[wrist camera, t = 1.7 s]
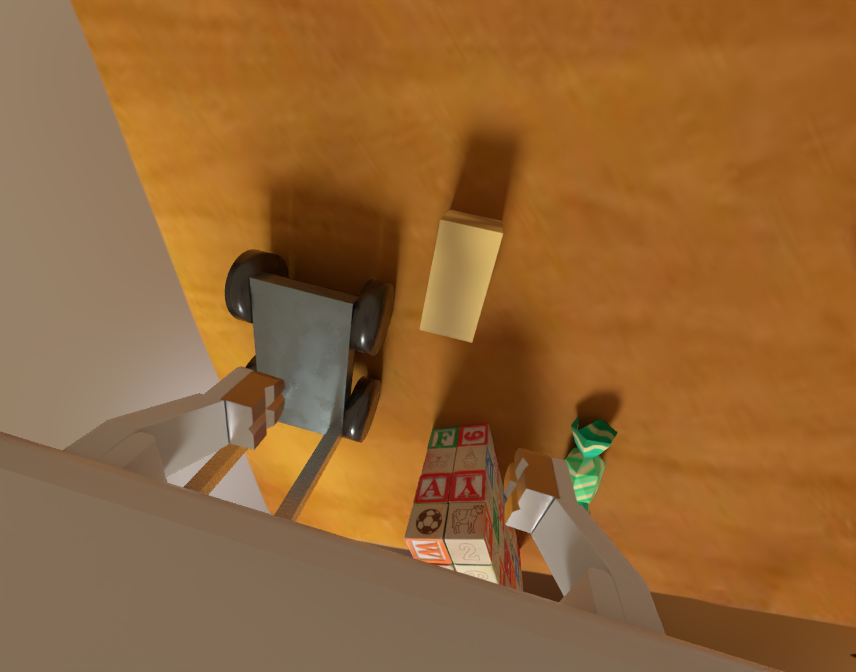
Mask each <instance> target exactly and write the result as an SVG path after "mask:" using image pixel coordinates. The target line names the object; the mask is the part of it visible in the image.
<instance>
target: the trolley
mask: <svg viewBox="0 0 856 672" xmlns="http://www.w3.org/2000/svg"><path fill="white" fill-rule="evenodd" d="M225 301H226V305H227V308H228V310H229V312H230V314H231V315H232V316H233V317H234V318H236V319H238V320H241V321H245V322H249V323H253V327H254V340H255V352H256V355H255V356H254V357H253V358H252V359H251V360H250V362H249V363H248V364H247V366H246V368H248V369H251V370H254V371H258V372H261V373H265V374H268V375H271V376H274V377H277V378H280V379H283V380H284V381H285V389H284V390H283V392H282V393H281V394H282V395H283V397H284V398H285V405H284V410H283V412H282V414H281V417H280V419H279V420H278V422H281V423H285V424H288V425H292V426H295V427H299V428H302V429H306V430H309V431H313V432H316V433H320V434H323V435H324V436H323V438H322V440H321V441H320V443H319V444H318V446H317V448H316V449H315V451H314V452H313V454H312V456H311V457H310V459H309V460H308V462H307V464H306V465H305V467H304V468H303V470H302V472H301V473H300V475H299V476H298V478H297V480H296V481H295V483H294V484H293V486H292V488H291V489H290V491H289V492H288V494H287V496H286V497H285V499H284V500H283V502H282V504H281V505H280V507H279V508H278V510H277V512H276V513H275V515H274V516H277V517H281V518H284V519H287V520H291V521H294V522H296V520H297V518H298V517H299V515H300V513H301V511H302V509H303V507H304V506H305V504H306V502H307V500H308V498H309V497H310V495H311V493H312V491H313V489H314V488H315V486H316V484H317V482H318V480H319V479H320V477H321V475H322V473H323V471H324V470H325V468H326V466H327V464H328V462H329V461H330V459H331V457H332V455H333V453H334V452H335V450H336V448H337V446H338V444H339V442H340V441H341V439H342V437H343V438H346V439H349V440H353V441H356V442H360V443H361V442H363V440H364V439H365V437H366V435H367V433H368V431H369V429H370V426H371V424H372V421H373V418H374V415H375V412H376V408H377V405H378V401H379V396H380V390H381V382H380V381H379V380H375V379H372V378H368V377H364V376H363V377H361V378H360V379H359V381H358V382H357V384H356V386H355V388H354V390H353V392H352V394H351V386H352V375H353V365H354V355H355V351H358V352H361V353H365V354H369V355H373V356H375V355H376V354H377V353H378V352H379V350H380V348H381V346H382V344H383V342H384V339H385V337H386V334H387V331H388V327H389V324H390V320H391V316H392V311H393V305H394V286H393V284H391V283H387V282H383V281H379V280H375V279H370V280H369V281H368V282H367V283H366V284H365V286H364V288H363V289H362V291H361V294H360V296H356V295H352V294H348V293H344V292H340V291H336V290H332V289H328V288H324V287H320V286H316V285H312V284H309V283H305V282H301V281H297V280H293V279H289V278H288V273H287V268H286V265H285V263H284V261H283V260H282V259H281V258H280V257H279V256H278V255H275V254H271V253H267V252H263V251H259V250H248V251H246V252H244V253H242V254H241V255H240V256H239V257H238V258H237V259H236V260H235V262H234V263H233V265H232V266H231V268H230V271H229V273H228V276H227V279H226V284H225ZM350 396H351V397H350ZM247 449H248V448H245V447H241V446H238V445H234V444H230V443H229V444H228V445H227V446H225V447H223V448H221V449H219V451H218V452H217V453H216V454H215V455H214V456H213V457H212V458H211V459H210V460H209V461H208V462H207V463H206V464H205V465H204V466H203V467H202V468H201V470H199V471H198V473H197V474H196V475H195V476H194V477H193V478H192V479H191V480H190V481H189V482H188V483H187V484H186V485H185V486H184V487H183V488H186V489H189V490H193V491H196V492H199V493H202V494H206V495H209V493H210V492H211V491H212V490H213V489H214V488H215V486H216V485H217V484H218V483H219V482H220V481H221V479H222V478H223V477H224V476H225V475H226V474H227V472H228V471H229V470H230V469H231V468H232V467H233V465H234V464H235V463H236V462H237V461H238V460H239V459H240V457H241V456H242V455H243V454H244V453H245V452H246V450H247Z"/></svg>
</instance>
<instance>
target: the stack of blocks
mask: <svg viewBox="0 0 856 672" xmlns="http://www.w3.org/2000/svg"><path fill="white" fill-rule="evenodd" d="M498 467H499V465H498V461H497V457H496V453H495V449H494V444H493V439H492V435H491V431H490V427H489V424H482V425H470V426H461V427H452V428H440V429H432V433H431V436H430V440H429V443H428V447H427V454H426V458H425V462H424V465H423V470H422V475H421V476H420V478H419V482H418V487H417V490H416V495H415V498H414V505H413V508H412V512H411V515H410V519H409V523H408V526H407V530H406V534H405V538H404V539H405V541H406V543H407V545H408V547H409V549H410V551H411V553H412V555H413V557H414V559H418V560H421V561H424V562H428V563H431V564H434V565H437V566H441V567H444V568H447V569H451V570H454V571H457V572H460V573H464V574H467V575H470V576H473V577H477V578H480V579H483V580H487V581H490V582H493V583H496V584H500V585H503V586H506V587H509V588H513V589H516V590H519V591H522V592H523V585H522V575H521V560H520V549H519V546H518V542H517V537H516V532H515V528H513V527H510V526H507V525H505V508H504V505H505V503H506V501H507V498H506V495H505V494H504V486H503V483H502V479H501V475H500V471H499V468H498Z"/></svg>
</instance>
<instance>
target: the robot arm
mask: <svg viewBox="0 0 856 672" xmlns="http://www.w3.org/2000/svg"><path fill="white" fill-rule="evenodd" d="M284 389H285V381H284V380H283V379H280V378H277V377H274V376H271V375H268V374H265V373H261V372H258V371H254V370H251V369H248V368H245V367H238V368H236V369H235V370H233V371H232V372H231V373H230V374H228V375H227V376H226V377H225V378H223V379H222V380H221V381H220V382H219V383H217V384H216V385H215V386H214V387H212V388H211V389H210V390H209V391H207V392H206V393H205V394H204V395H203V394H200V393H199V394H195V395H192V396H188V397H185V398H182V399H178V400H175V401H171V402H168V403H164V404H161V405H158V406H154V407H150V408H147V409H144V410H140V411H137V412H133V413H130V414H126V415H123V416H120V417H116V418H113V419H110V420H107V421H105V422H104V423H103V424H101V425H100V426H98V427H96V428H95V429H94V430H92V431H91V432H89V433H88V434H86V435H85V436H83V437H82V438H80V439H79V440H77V441H76V442H74V443H73V444H71V445H70V446H68V447H67V448H65V449H64V450H59V449H56V448H52V447H49V446H46V445H42V444H39V443H36V442H33V441H30V440H26V439H23V438H19V437H16V436H13V435H10V434H7V433H3V432H0V672H784V671H781V670H777V669H774V668H770V667H767V666H764V665H761V664H757V663H754V662H751V661H748V660H744V659H741V658H738V657H735V656H731V655H728V654H725V653H721V652H718V651H715V650H712V649H708V648H705V647H702V646H699V645H695V644H692V643H688V642H685V641H682V640H679V639H676V638H672V637H669V636H666V635H665V632H664V630H663V627H662V624H661V621H660V619H659V616H658V613H657V611H656V608H655V605H654V603H653V600H652V597H651V594H650V592H649V589H648V586H647V583H646V582H645V580H644V579H643V578H642V577H641V576H640V574H639V573H638V572H637V571H636V570H635V568H634V567H633V566H632V565H631V564H630V562H629V561H628V560H627V559H626V558H625V556H624V555H623V554H622V553H621V552H620V550H619V549H618V548H617V547H616V546H615V544H614V543H613V542H612V541H611V540H610V538H609V537H608V536H607V535H606V534H605V532H604V531H603V530H602V529H601V528H600V526H599V525H598V524H597V523H596V522H595V520H594V519H593V518H592V517H591V515H590V514H589V513H588V512H587V511H586V509H585V508H584V507H583V506H581V505H578V503H577V499H576V495H575V491H574V488H573V484H572V480H571V476H570V473H569V469H568V465H567V462H566V461H565V460H563V459H560V458H556V457H552V456H548V455H544V454H541V453H537V452H534V451H530V450H527V449H523V448H518V449H517V451H516V453H515V454H514V461H515V462H513V463H511V464H509V466H508V469H507V471H506V474H505V478H504V494H505V495H506V497H507V499H508V500H507V501H506V503H505V505H504V508H505V525H507V526H510V527H513V528H516V529H519V530H522V531H525V532H528V533H531V534H532V537H533V539H534V541H535V543H536V545H537V547H538V548H539V550H540V552H541V554H542V556H543V558H544V560H545V562H546V563H547V565H548V567H549V569H550V571H551V573H552V575H553V576H554V578H555V580H556V581H557V584H558V586H559V588H560V590H561V591H562V593H563V595H564V598H563V599H562V600H561V601H560V602H559V603H558V602H555V601H551V600H548V599H545V598H542V597H538V596H535V595H532V594H529V593H525V592H522V591H519V590H516V589H513V588H509V587H506V586H503V585H500V584H496V583H493V582H490V581H487V580H483V579H480V578H477V577H473V576H470V575H467V574H464V573H460V572H457V571H454V570H451V569H447V568H444V567H441V566H437V565H434V564H431V563H428V562H424V561H421V560H418V559H414V558H411V557H408V556H404V555H401V554H398V553H395V552H391V551H388V550H385V549H381V548H378V547H375V546H372V545H368V544H365V543H362V542H359V541H356V540H352V539H349V538H346V537H343V536H339V535H336V534H333V533H330V532H326V531H323V530H320V529H317V528H313V527H310V526H307V525H304V524H300V523H297V522H294V521H291V520H287V519H284V518H281V517H277V516H274V515H271V514H268V513H264V512H261V511H258V510H254V509H251V508H248V507H245V506H242V505H238V504H235V503H231V502H228V501H225V500H221V499H219V498H215V497H212V496H209V495H206V494H202V493H199V492H196V491H193V490H189V489H186V488H183V487H179V486H176V485H173V484H170V483H167V479H166V477H167V476H169V475H171V474H173V473H175V472H177V471H179V470H181V469H183V468H184V467H186V466H188V465H190V464H192V463H194V462H196V461H198V460H200V459H202V458H204V457H206V456H208V455H209V454H211V453H213V452H215V451H217V450H219V449H221V448H223V447H225V446H227V445H228V444H229V443H230V444H234V445H238V446H241V447H245V448H249V449H253V450H254V449H255V448H256V447H257V446H258V445H259V443H260V442H261V441H262V440H263V439H264V437H265V436H266V429H267V428H269V427H271V426H274V425H275V424H276V423H277V421H278V420H279V419H280V417H281V414H282V412H283V410H284V405H285V398H284V397H283V395H282V394H281V393H282V392H283V390H284Z"/></svg>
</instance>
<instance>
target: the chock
mask: <svg viewBox="0 0 856 672" xmlns="http://www.w3.org/2000/svg"><path fill="white" fill-rule="evenodd" d="M502 236H503V225H502V221H501V220H496V219H492V218H487V217H483V216H478V215H474V214H469V213H465V212H460V211H456V210H451V209H450V210H449V211H448V212H447V213H446V214H445V215H444V216H443V217H442V218H441V219H440V225H439V230H438V235H437V240H436V246H435V251H434V256H433V261H432V267H431V272H430V277H429V283H428V288H427V293H426V298H425V304H424V309H423V314H422V319H421V325H420V330H423V331H427V332H431V333H435V334H439V335H443V336H447V337H451V338H455V339H459V340H463V341H467V342H471V343H472V341H473V338H474V334H475V331H476V327H477V324H478V320H479V317H480V313H481V310H482V306H483V303H484V299H485V296H486V292H487V289H488V285H489V282H490V278H491V275H492V271H493V268H494V264H495V261H496V257H497V254H498V250H499V247H500V243H501V240H502Z"/></svg>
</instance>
